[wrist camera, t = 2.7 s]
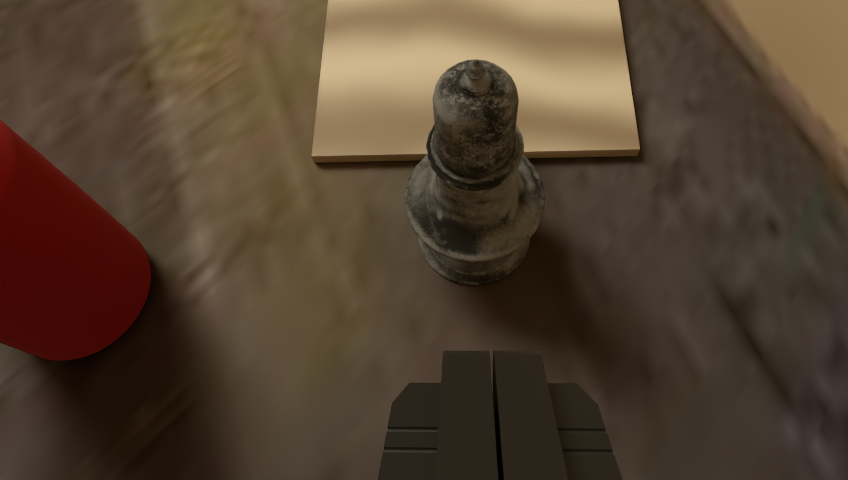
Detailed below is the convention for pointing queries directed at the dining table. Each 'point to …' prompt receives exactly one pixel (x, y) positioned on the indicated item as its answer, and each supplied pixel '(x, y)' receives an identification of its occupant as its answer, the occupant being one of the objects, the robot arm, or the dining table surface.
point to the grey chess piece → (474, 179)
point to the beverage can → (61, 261)
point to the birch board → (467, 40)
